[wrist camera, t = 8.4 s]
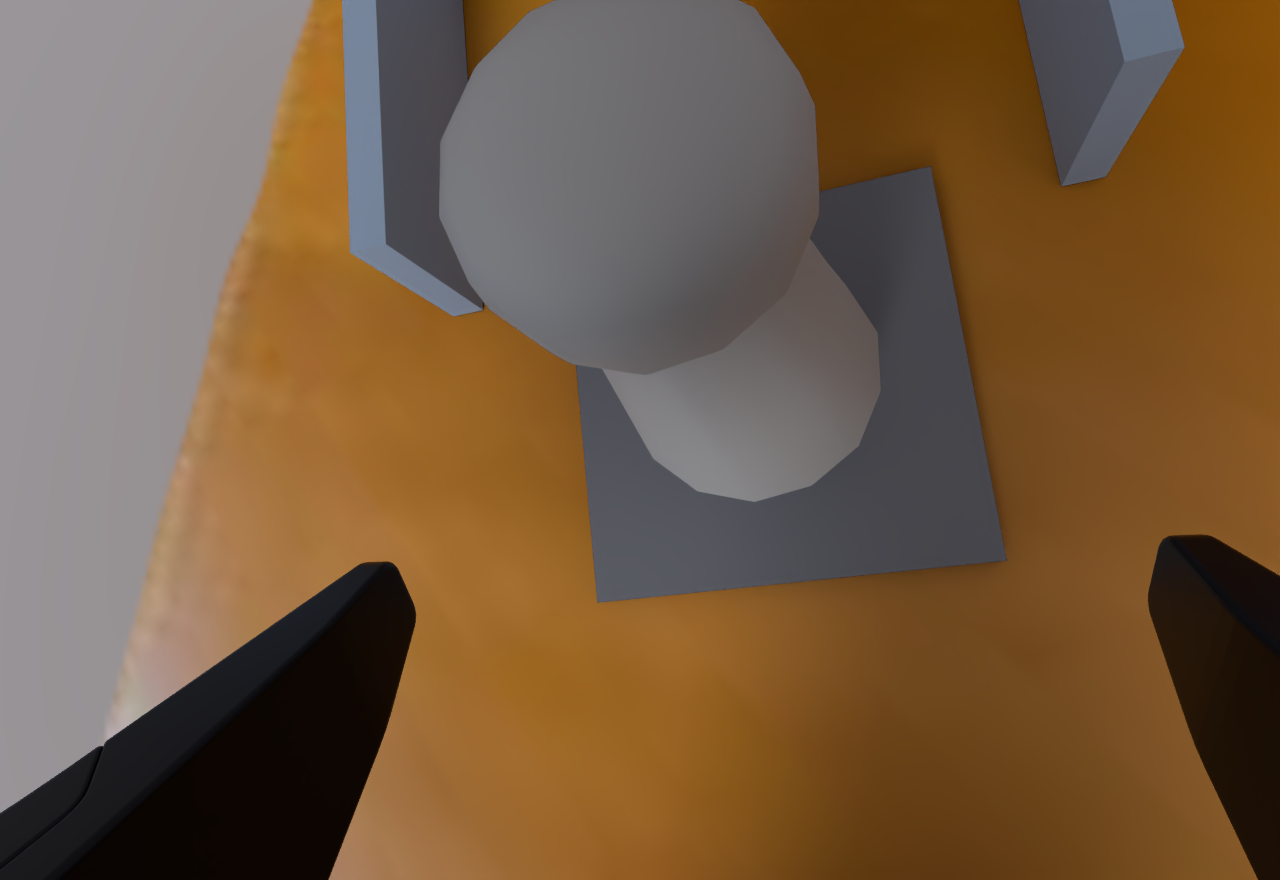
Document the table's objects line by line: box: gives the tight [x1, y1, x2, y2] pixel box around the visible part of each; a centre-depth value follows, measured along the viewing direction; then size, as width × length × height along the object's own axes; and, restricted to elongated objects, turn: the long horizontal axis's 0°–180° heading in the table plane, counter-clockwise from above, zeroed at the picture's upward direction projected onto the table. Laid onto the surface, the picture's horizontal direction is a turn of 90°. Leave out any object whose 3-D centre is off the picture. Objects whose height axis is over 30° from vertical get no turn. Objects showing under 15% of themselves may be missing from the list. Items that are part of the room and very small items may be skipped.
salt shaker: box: [439, 0, 881, 502], centre depth 14 cm, size 6×6×13 cm
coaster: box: [576, 166, 1007, 603], centre depth 20 cm, size 10×10×1 cm
